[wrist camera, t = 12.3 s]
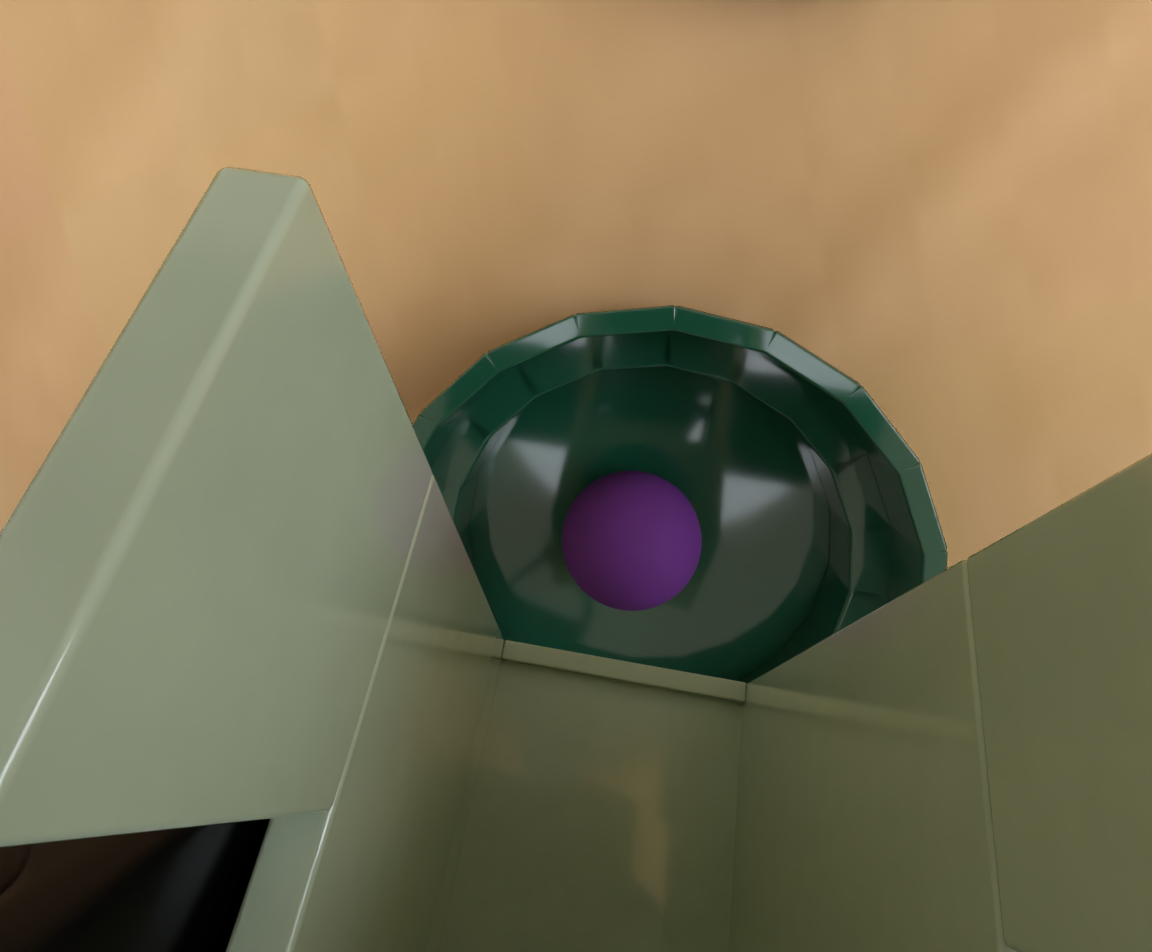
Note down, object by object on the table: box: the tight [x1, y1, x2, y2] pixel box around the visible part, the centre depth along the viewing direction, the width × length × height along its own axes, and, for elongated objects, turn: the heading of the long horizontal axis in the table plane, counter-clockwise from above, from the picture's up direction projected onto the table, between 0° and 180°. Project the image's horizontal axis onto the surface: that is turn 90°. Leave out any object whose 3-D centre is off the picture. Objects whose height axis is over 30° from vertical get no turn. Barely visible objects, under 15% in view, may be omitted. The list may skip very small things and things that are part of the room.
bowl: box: [413, 305, 947, 684], centre depth 17 cm, size 13×13×4 cm
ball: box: [562, 470, 702, 611], centre depth 17 cm, size 4×4×4 cm
